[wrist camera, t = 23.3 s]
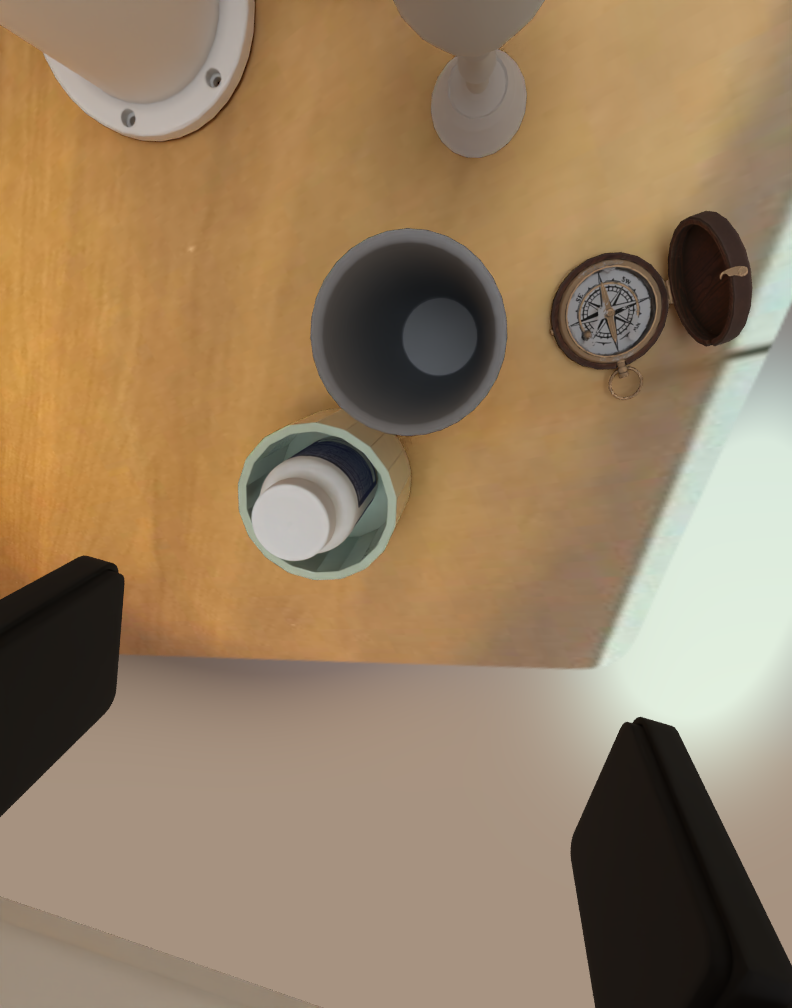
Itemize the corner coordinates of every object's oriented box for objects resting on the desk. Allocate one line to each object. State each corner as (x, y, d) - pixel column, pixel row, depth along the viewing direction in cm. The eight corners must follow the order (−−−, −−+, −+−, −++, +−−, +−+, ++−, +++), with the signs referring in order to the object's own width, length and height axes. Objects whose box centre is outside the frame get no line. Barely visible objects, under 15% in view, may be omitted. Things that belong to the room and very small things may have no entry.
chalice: (409, 33, 29) (299, -400, 12) (542, 7, 28) (633, -516, 11) (420, 189, 31) (340, 8, 14) (545, 171, 30) (625, -51, 13)
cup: (395, 403, 35) (333, 450, 20) (374, 290, 33) (289, 254, 19) (505, 383, 33) (520, 418, 19) (488, 264, 32) (491, 204, 17)
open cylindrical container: (289, 392, 35) (248, 404, 29) (426, 428, 35) (414, 447, 29) (268, 520, 38) (227, 555, 32) (395, 555, 38) (377, 598, 31)
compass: (535, 279, 31) (550, 263, 24) (682, 225, 30) (742, 191, 23) (571, 414, 33) (593, 434, 26) (711, 371, 31) (775, 380, 24)
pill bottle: (305, 427, 35) (241, 459, 26) (386, 444, 35) (351, 482, 26) (295, 505, 37) (232, 561, 28) (372, 523, 37) (334, 585, 27)
